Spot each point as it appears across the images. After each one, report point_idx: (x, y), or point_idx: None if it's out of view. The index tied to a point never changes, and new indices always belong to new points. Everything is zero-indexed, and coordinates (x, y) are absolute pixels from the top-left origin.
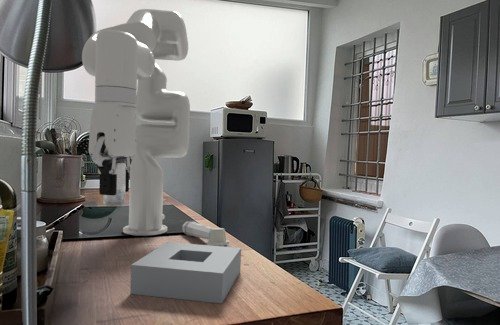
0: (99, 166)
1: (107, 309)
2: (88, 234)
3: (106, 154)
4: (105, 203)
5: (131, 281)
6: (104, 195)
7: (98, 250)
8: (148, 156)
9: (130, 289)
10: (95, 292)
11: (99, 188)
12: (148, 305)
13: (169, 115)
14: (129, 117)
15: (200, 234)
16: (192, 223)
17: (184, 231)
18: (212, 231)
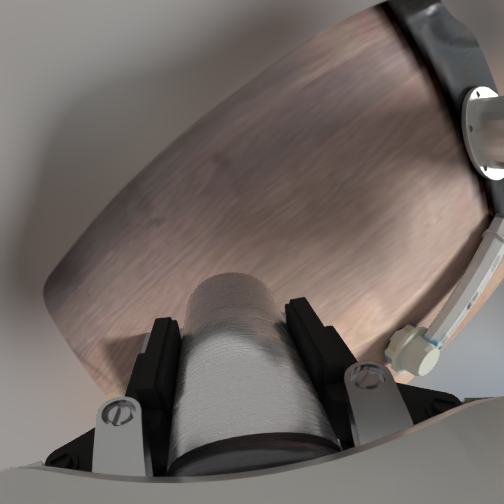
0: (74, 454)
1: (90, 334)
2: (430, 27)
3: (334, 469)
4: (187, 307)
5: (142, 346)
6: (186, 318)
7: (351, 101)
8: None
9: (145, 337)
10: (122, 278)
11: (151, 331)
12: (129, 373)
13: None
14: None
15: (451, 299)
16: (495, 256)
17: (487, 230)
18: (418, 359)
